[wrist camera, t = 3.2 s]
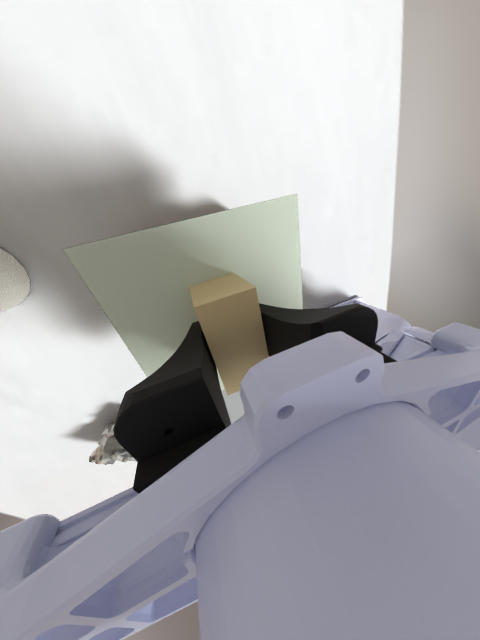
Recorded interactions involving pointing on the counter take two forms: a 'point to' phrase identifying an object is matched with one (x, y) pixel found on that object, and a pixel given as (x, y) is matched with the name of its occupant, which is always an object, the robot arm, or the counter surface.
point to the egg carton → (109, 449)
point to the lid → (199, 283)
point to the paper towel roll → (12, 282)
